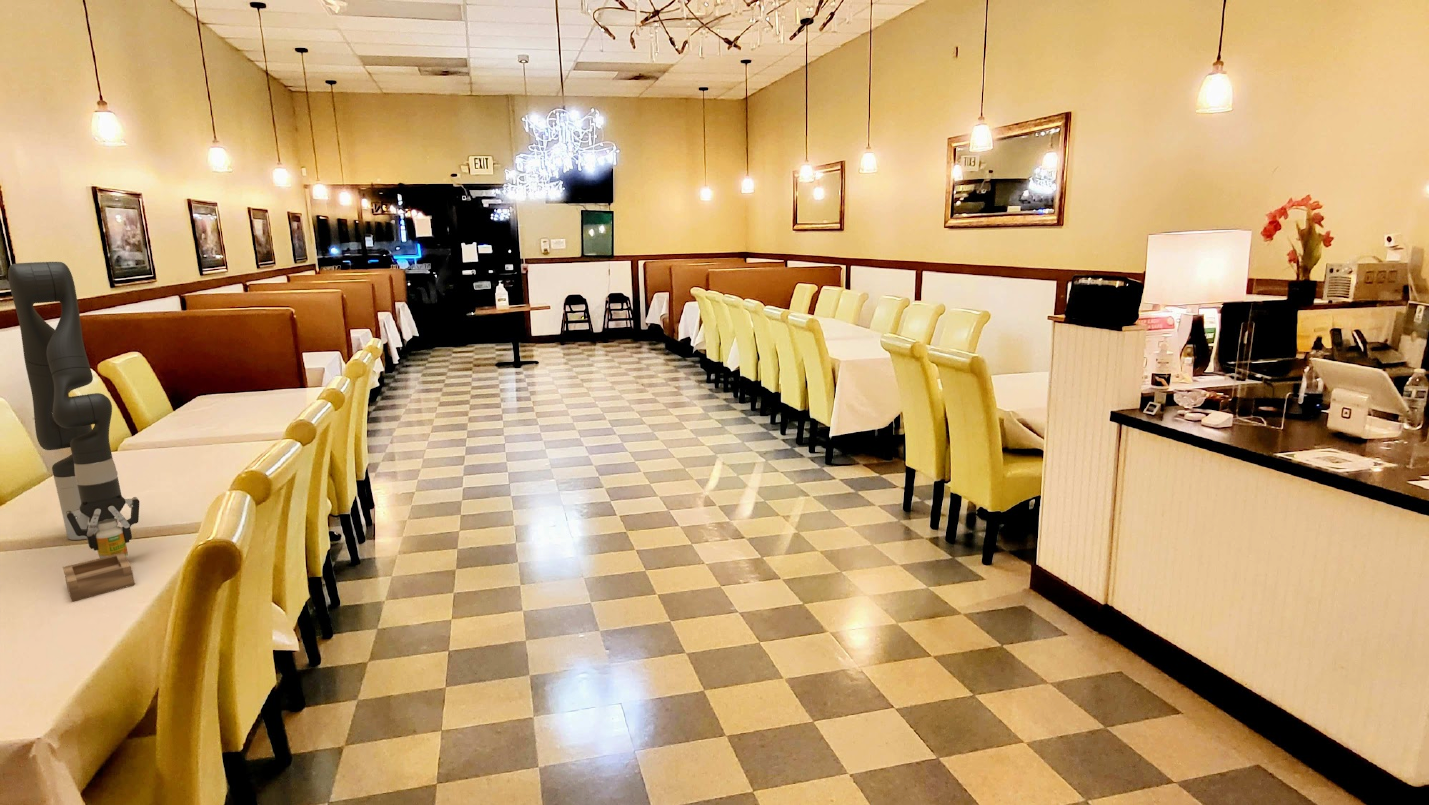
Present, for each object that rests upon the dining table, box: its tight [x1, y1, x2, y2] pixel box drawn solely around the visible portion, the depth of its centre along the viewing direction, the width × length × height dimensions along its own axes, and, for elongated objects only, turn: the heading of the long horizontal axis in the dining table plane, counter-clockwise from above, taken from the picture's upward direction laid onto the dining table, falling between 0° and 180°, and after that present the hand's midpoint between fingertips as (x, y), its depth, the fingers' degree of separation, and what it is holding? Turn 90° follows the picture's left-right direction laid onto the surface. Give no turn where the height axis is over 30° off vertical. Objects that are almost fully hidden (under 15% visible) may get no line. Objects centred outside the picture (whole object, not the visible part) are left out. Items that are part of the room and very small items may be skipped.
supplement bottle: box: [95, 518, 129, 559], centre depth 181 cm, size 5×5×10 cm
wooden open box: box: [62, 552, 136, 602], centre depth 171 cm, size 11×11×4 cm
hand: (111, 545), depth 181 cm, fingers closed on supplement bottle, 5 cm apart
